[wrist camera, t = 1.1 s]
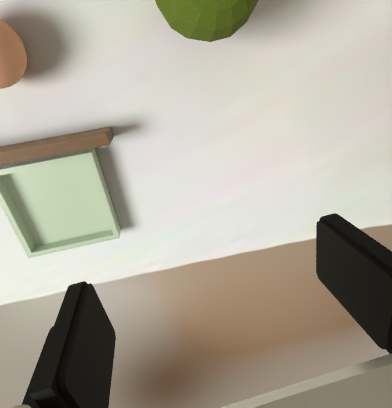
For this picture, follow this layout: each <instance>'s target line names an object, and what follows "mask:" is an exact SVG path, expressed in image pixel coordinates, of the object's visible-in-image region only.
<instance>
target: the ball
mask: <svg viewBox="0 0 392 408" xmlns="http://www.w3.org/2000/svg"><path fill="white" fill-rule="evenodd" d="M26 67H27V55H26V51H25V47H24V45H23V43H22V41H21V39H20V37H19V36H18V35H17V33H16V32H15V31H14V30H13V29H12V28H11V27H10V26H9V25H8V24H7V23H6V22H4V21H3V20H2V19H0V88H6V87H9V86H12V85H14V84H15V83H17V82H18V81H19V80H20V79H21V78H22V77H23V75H24V73H25V71H26Z"/></svg>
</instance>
